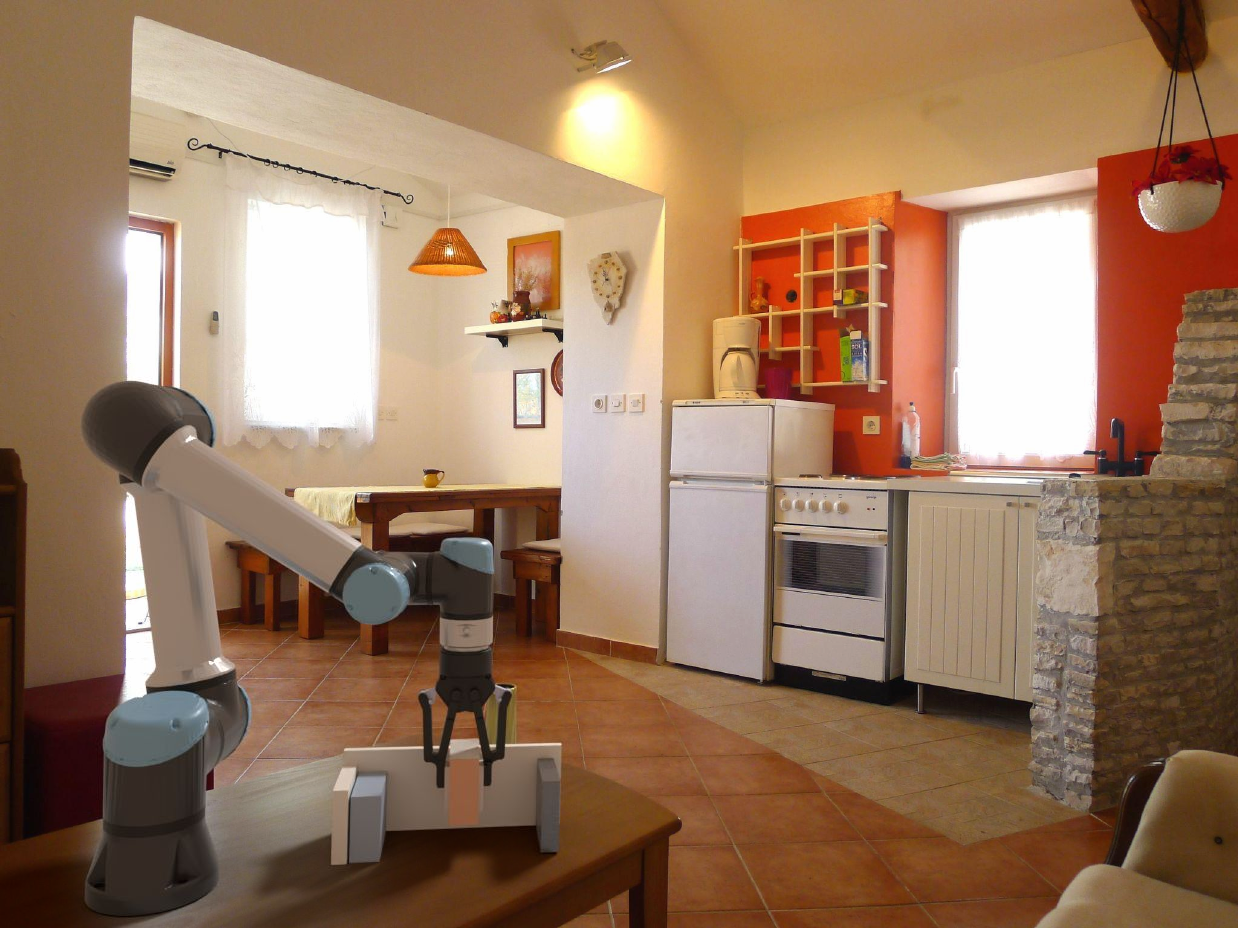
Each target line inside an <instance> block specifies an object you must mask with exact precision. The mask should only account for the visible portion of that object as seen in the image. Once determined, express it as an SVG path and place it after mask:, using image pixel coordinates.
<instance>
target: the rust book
mask: <svg viewBox="0 0 1238 928" xmlns="http://www.w3.org/2000/svg"><path fill="white" fill-rule="evenodd" d="M479 745H480V741H479V737H478V738H477V737H475V738H451V739H450V743H449V746H450V760H449V762H450V781H449V826H457V825H478V802H479Z"/></svg>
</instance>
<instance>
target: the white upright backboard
mask: <svg viewBox="0 0 1238 928" xmlns="http://www.w3.org/2000/svg"><path fill="white" fill-rule="evenodd" d="M562 745H563V744H562V742H547V743H546V742H545V743H544V742H542V743H541V742H539V743H516V744H505V756H504V758H503V759H502V760H497V761H494V762H493V764H492V782H491V785H490V786H483V811H482V812H478V825H457V826H449V813H444V788H437V785H436V772H437V768H436V765H435V764H433V763H430V762H429V763H427V762H425V761H424V748H423V746H418V745H417V746H383V747H382V746H381V747H346V748H344V750H343V762H342V763H343V764H342V767H341V770H340V772H339V775H338V776H337V779H336V782H335V785H334V786H333V788H332V809H331V811H332V814H331V816H332V817H331V823H332V824H331V847H330V848H331V849H330V850H331V853H330V854H331V855H330V859H331V860H330V866H336V865H337V866H338V865H339V866H340V865H347V864H348V862H349V849H350V807H351V795H352V792H353V789H354V786H355V783H356V780H357V777H358V774H359V772H387V801H386V832H392V831H393V832H394V831H395V832H396V831H417V830H418V831H420V830H443V829H445V830H447V829H468V828H469V829H470V828H494V827H499V828H500V827H519V826H520V827H521V826H522V827H524V826H536V787H537V759H542V758H554V761H555V764H556V768H557V771H558V775H559V778H560V793H561V792H562V791H561V789H562V787H561V786H562V785H561V783H562V782H561V781H562V748H563V747H562ZM439 746H440V745H433V751H434V752H437V753H438V751H439ZM494 749H496V745H490V750H491V751H492V750H494ZM449 760H450V745H449V748H448V752H447V757H446V761H449ZM479 760H483V757H482V751H481V746H480V744H479ZM560 820H561V814H560V815H559V825H560V824H561V823H560V822H561V821H560Z"/></svg>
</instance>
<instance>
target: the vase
mask: <svg viewBox="0 0 1238 928" xmlns="http://www.w3.org/2000/svg"><path fill="white" fill-rule="evenodd" d="M495 685H497V686H500V687H502V688H506V687H508V688H510V689H511V692H512V698H511V700H510V702H509V705H508V707H507V720H506V739H505V744H517V689H518V688H517V687H518V686H517V685H516V684H515V683H514V684H513V683H509V682H495ZM495 696H496V695H495V694H494V693H492V695H491V696H490V697H489V699H488V700H487V701H486V714H485V715H486V717H485V718H486V720H485V724H486V729H487V734H488V740H489V745H496V735H497V716H498V702H496V699H495Z"/></svg>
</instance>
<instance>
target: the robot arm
mask: <svg viewBox="0 0 1238 928" xmlns="http://www.w3.org/2000/svg"><path fill="white" fill-rule="evenodd" d="M80 418H81V420H80V431H81V436H82V439H83V441H84V443H85V445H86V448H87V449H89V451H90V453H92V455H93V456H94V457H95V458H96V459H98V460H99V461H100V462H101V463H103V464H104V465H106V466H107V467H109V468H110V469H112V470H114V471H115V472H117V473H118V479H119V487H120V488H121V489H122V490H124V491H125V492H127V493H129V494H130V495H131V496H132V498H133V500H134V507H135V515H136V524H137V529H138V531H137V532H138V539H139V546H140V555H141V560H142V561H141V562H142V569H143V576H144V584H145V585H144V586H145V591H146V600H147V608H148V617H149V624H150V625H149V626H150V632H151V640H152V647H153V654H154V655H153V656H154V662H155V663H154V664H155V668H154V670H153V671H152V672H151V674H150V675H149V677H148V678H147V679H146V680H145V684H144V685H145V691H146V694H144V695H143V696H141V697H140V696H138V697H137V696H136V697H133V698H131V699H130V698H129V699H128V700H126V701H123V702H122V703H120V704H119V705H117V706H116V707H114V709H112V711H111V712H110V713H109V715H108V717H107V718H106V723H105V730H104V731H105V732H104V736H103V738H102V749H103V779H102V780H103V785H102V786H103V787H102V788H103V789H102V790H103V791H102V792H103V793H102V796H103V798H102V833H101V837H100V840H99V842H98V845H97V847H96V850H95V854H94V856H93V859H92V861H91V865H90V867H89V869H88V873H87V875H86V877H85V881H84V904H86V906H87V907H88V908H89V909H91V911H94V912H96V913H99V914H104V915H110V916H117V917H118V916H120V917H125V916H126V917H129V916H130V917H131V916H143V915H150V914H157V913H160V912H161V913H162V912H166V911H170V910H173V909H177V908H179V907H182V906H186V905H188V904H190V903H192V902H195V901H197V900H199V899H201V898H202V897H204V896H205V895H208V893H209V892H211V891H212V890H213V889H214V888H215V887H216V885H217V884H218V882H219V877H220V875H219V874H220V873H219V872H220V860H219V857H218V854H217V851H216V848H215V845H214V841H213V839H212V836H211V833H210V831H209V827H208V824H207V821H206V820H207V819H206V807H207V806H206V803H207V802H206V801H207V775H208V774H209V773H211V771H212V770H214V769H215V768H216V767H217V766H218V765H219V764H220V763H221V762H223V761H224V760H226V759H227V758H229V757H230V756H231V755H232V754H233V753H234V752H235V751H236V750H237V749H238V747H239V746H240V745H241V743H242V741H244V738H245V737H246V735H247V733H248V731H249V728H250V727H251V726H250V725H251V722H252V716H253V715H252V704H251V700H250V698H249V697H250V696H249V695H248V694H247V692H246V690H245V689H244V687H243V686H242V685H240V684H239V683H238V675H237V669H236V665H235V663H233V662H232V661H230V660H229V659H227V657H225V656H224V655H223V652H222V650H223V649H222V643H221V635H220V628H219V620H218V619H219V618H218V612H217V604H216V596H215V588H214V587H215V586H214V582H213V581H214V580H213V572H212V564H211V556H210V548H209V542H208V535H207V533H208V532H207V524H206V518H207V519H209V520H211V521H213V522H214V523H215V524H217V525H219V526H221V527H222V528H223V529H225V530H227V531H228V532H230V533H232V535H235V536H236V537H238V538H239V539H242V541H245V542H246V543H247V544H249V545H250V546H253V547H254V548H256V549H257V550H258V551H260V552H262V553H264V554H265V555H267V556H269V558H271V559H273V560H275V561H277V562H278V563H279V564H281V565H283V566H285V568H288V569H289V570H291V571H293V572H294V573H295V574H297V575H298V576H301V577H302V578H304V579H305V580H307V581H308V582H310V583H312V584H313V585H315V586H316V587H318V588H319V589H321V590H323V591H324V592H326V593H328V594H329V595H331V596H332V597H334V598H335V599H336V600H338V601H339V602H341V603H342V604H343V605H344V607H345V610H346V611H347V613H348V614H349V615H350V617H351V618H353V619H354V620H355V621H357V622H359V623H360V624H361V623H362V624H364V625H371V626H373V625H374V626H375V625H380V624H384V623H386V622H389V621H392V620H394V619H395V618H397V617H398V616H399V615H400V614H401V613H403V612H404V610H405V609H406V608H407V606H420V605H421V606H422V605H423V606H424V605H425V606H426V605H429V606H434V605H438V606H439V608H440V610H439V611H440V612H439V616H440V617H439V644H440V645H441V646H442V647H441V648H440V649H439V654H438V655H439V657H438V658H439V659H438V661H439V662H438V663H439V664H438V671H439V672H438V673H439V674H438V679H437V681H436V683H435V686H433V687H430V688H428V689H421V690H419V692H418V696H417V700H418V702H419V704H420V707H421V710H422V738H423V741H422V742H423V744H422V745H423V748H424V761H425V762H427V763H429V762H430V763H433V764H435V765H436V768H437V772H436V785H437V788H444V813H449V781H450V762H449V761H446V757H447V752H448V748H449V746H450V742H451V739H452V733H453V730H454V729H453V728H454V725H455V721H456V718H457V717H456V716H457V713H458V714H459V713H463V712H468V713H473V715H474V719H475V720H474V721H475V724H476V730H477V734H478V739H479V745H480V746H481V751H482V757H483V760H479V802H478V812H482V811H483V786H490V785H491V782H492V764H493V762H494V761H497V760H502V759H503V758H504V756H505V739H506V720H507V707H508V705H509V702H510V700H511V698H512V692H511V689H510V688H508V687H506V688H502V687H500V686H497V685H495V683H496V682H495V680H494V678H493V648H492V647H491V646H490V645H491V644H492V643H493V642H494V641H493V639H494V637H493V632H494V592H495V591H494V586H495V581H494V580H495V568H494V546H493V544H492V543H491V542H490V540H488V539H486V538H480V537H450V538H448V537H447V538H445V539H443V540H442V541H441V544H440V549H439V551H434V552H417V551H416V552H415V551H412V552H410V551H407V552H406V551H386V550H378V551H374V550H373V549H371V548H369V547H367V546H366V545H364V543H362V542H360V541H359V540H357V539H356V538H354V537H352V536H351V535H349V534H348V533H346V532H344V531H343V530H341V529H340V528H338V527H336V525H333V524H332V523H330V522H329V521H327V520H326V519H324V518H323V517H321V516H320V515H317V514H316V513H314V512H313V511H311V510H310V509H308V508H306V507H305V506H303V505H302V504H301V503H300V502H297V501H296V500H294V499H293V498H291V497H289V496H287V494H285V493H283V492H282V491H280V490H279V489H277V488H275V487H274V486H272V485H270V484H269V483H267V482H266V481H264V480H262V479H261V478H259V477H258V476H256V475H254V474H253V473H252V472H250V471H248V470H246V468H243V467H242V466H240V464H237V463H236V462H234V461H232V460H231V459H230V458H228V457H227V456H225V455H224V454H221V453H220V452H219V451H217V450H215V449H214V446H215V445H216V444H215V443H216V441H217V440H216V438H217V425H216V422H215V419H214V416H213V414H212V412H211V411H210V409H209V407H208V406H207V405H206V404H205V403H204V402H203V401H202V400H201V399H199V398H198V397H197V396H195V395H193V394H191V392H188V391H186V390H184V389H182V388H179V387H175V386H171V385H157V384H153V383H149V382H143V381H139V380H124V381H123V380H121V381H117V382H113V383H111V384H108V385H105V386H104V387H102V388H100V389H99V390H98V391H96V392H95V393H94V394H93V395H91V397H90V398H89V400H88V401H87V402H86V404H85V406H84V408H83V411H82V414H81V417H80ZM205 517H206V518H205ZM492 693H494V694H495V695H496V696H495V699H496V702H498V716H497V735H496V749H494V750H492V751H491V750H490V745H489V740H488V734H487V729H486V720H485V715H484V714H485V713H484V710H483V709H484V708H483V707H484V705H485V704H487V700H488V699H489V697H490V696H491V695H492ZM436 696H439V698H440V699H441V700H442V702H443V703H444V705H445V706H446V707H447V710H446V715H445V720H444V724H443V729H442V734H441V737H440V741H439V742H440V743H439V745H438V746H439V751H438V753H437V752H434V751H433V746H434V743H433V742H434V740H433V705H434V704H435V702H436Z"/></svg>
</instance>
